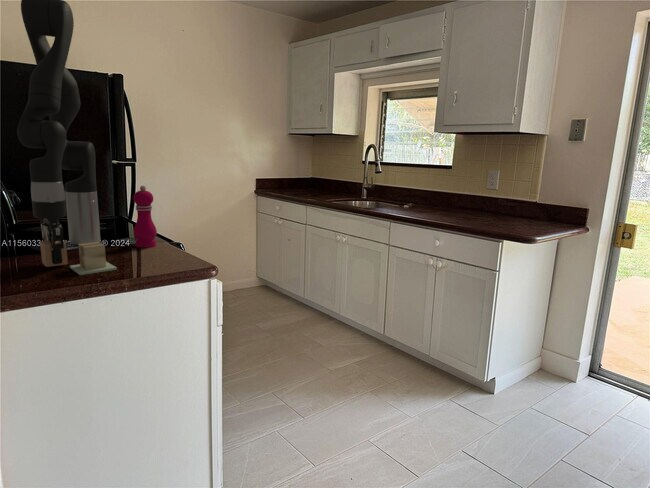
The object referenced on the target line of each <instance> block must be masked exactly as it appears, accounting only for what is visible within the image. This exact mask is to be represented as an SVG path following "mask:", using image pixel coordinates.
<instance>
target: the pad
mask: <svg viewBox="0 0 650 488" xmlns="http://www.w3.org/2000/svg"><path fill="white" fill-rule="evenodd" d="M69 268H70V269H71V270H72V271H73V272H75V273H76V274H78V275H79V276H85V275H90V274H98V273H103V272H111V271H116V270H118V267H117V266H115V265H113V264H111V263H110V262H108V261H106V267H103V268H97V269H90V270H85V269H84V268H82V267H81V266H80V263H79V264H78V263H77V264H71V265H69Z"/></svg>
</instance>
